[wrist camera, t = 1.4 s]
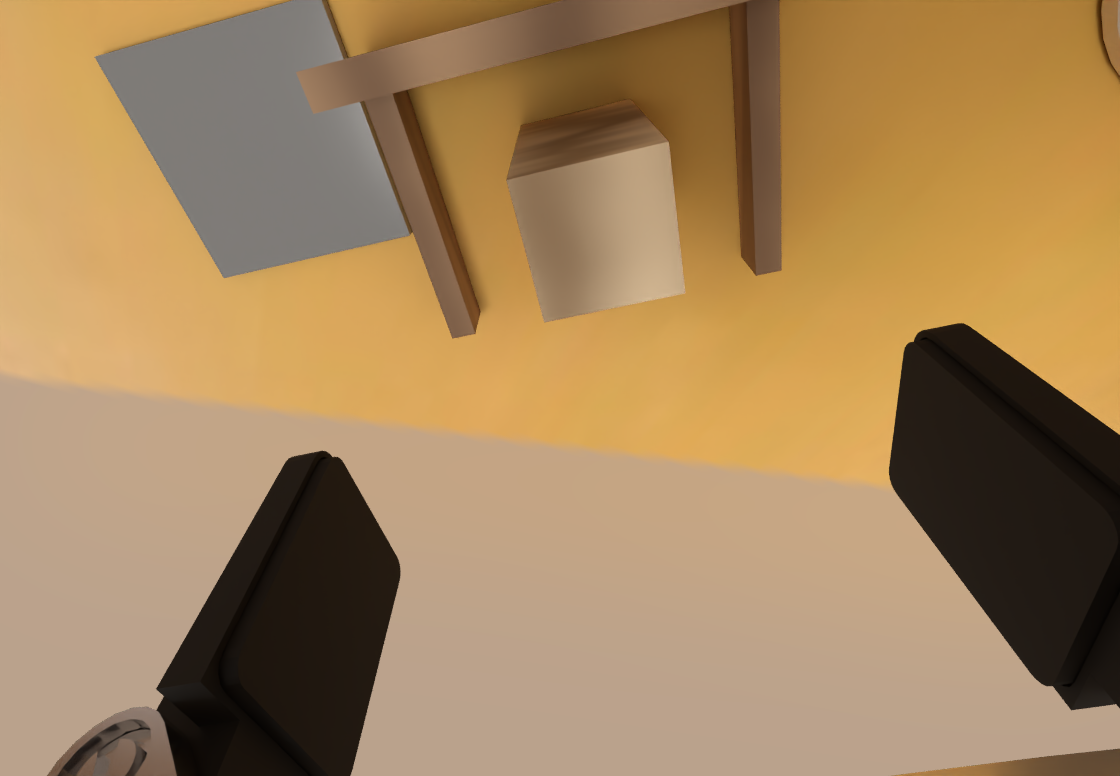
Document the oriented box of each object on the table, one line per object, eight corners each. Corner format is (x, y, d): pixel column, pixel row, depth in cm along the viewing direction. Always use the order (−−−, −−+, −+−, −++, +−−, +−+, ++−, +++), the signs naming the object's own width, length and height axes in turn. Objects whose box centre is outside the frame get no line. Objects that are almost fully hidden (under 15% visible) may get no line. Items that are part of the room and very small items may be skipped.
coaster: (323, -7, 23) (318, -8, 23) (412, 231, 28) (409, 235, 28) (103, 56, 24) (94, 56, 24) (229, 273, 30) (223, 277, 29)
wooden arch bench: (757, -50, 22) (844, -76, 16) (765, 251, 29) (828, 323, 23) (366, 55, 24) (295, 71, 18) (459, 316, 31) (433, 400, 24)
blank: (629, 98, 25) (668, 141, 17) (645, 209, 28) (685, 293, 20) (520, 125, 26) (506, 179, 18) (546, 231, 29) (544, 322, 20)
